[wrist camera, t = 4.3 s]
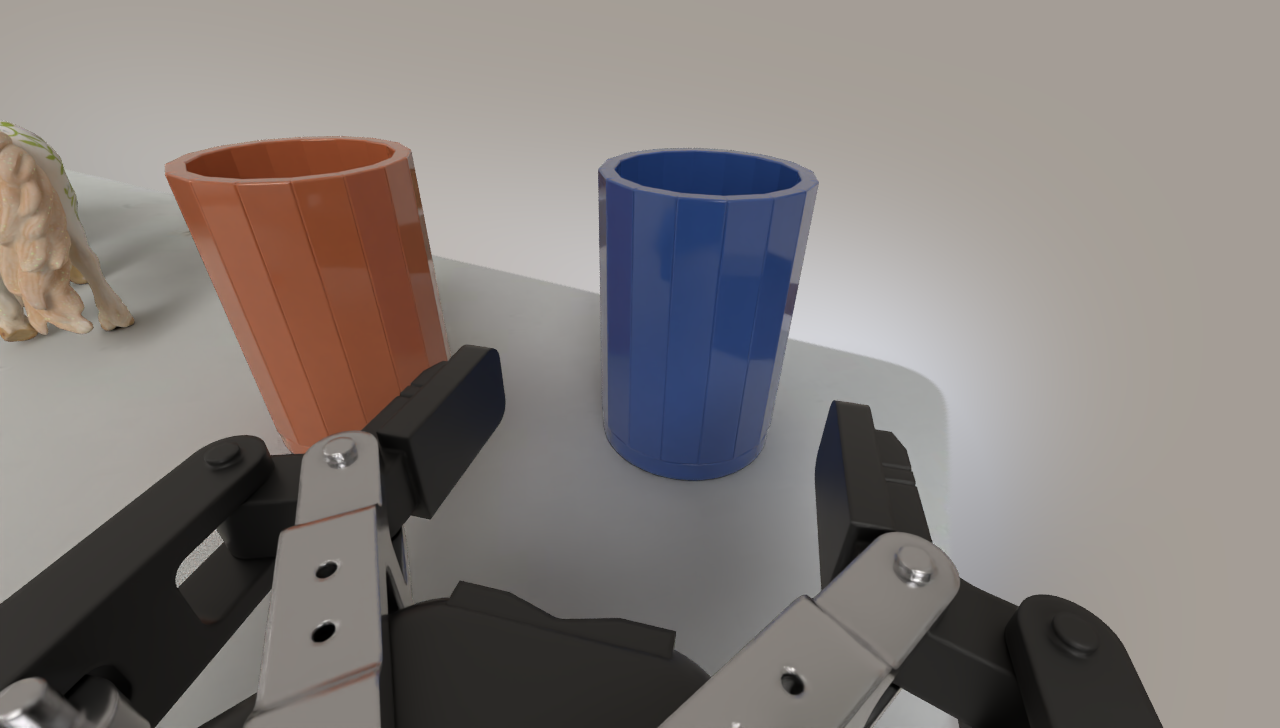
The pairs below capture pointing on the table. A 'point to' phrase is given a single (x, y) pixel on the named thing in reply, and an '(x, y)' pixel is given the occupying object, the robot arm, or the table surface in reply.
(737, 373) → the blue cup
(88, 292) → the table surface
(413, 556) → the table surface
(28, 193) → the unicorn figurine
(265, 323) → the terracotta cup
